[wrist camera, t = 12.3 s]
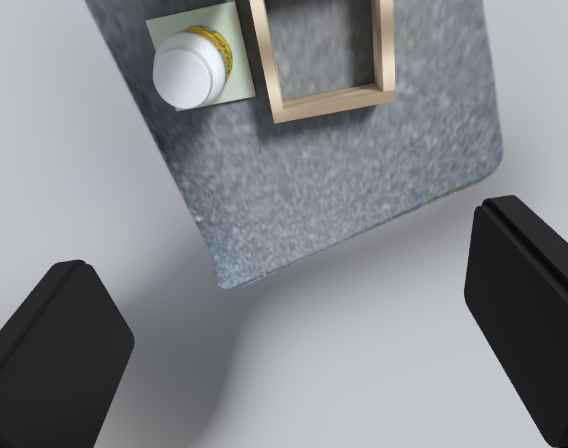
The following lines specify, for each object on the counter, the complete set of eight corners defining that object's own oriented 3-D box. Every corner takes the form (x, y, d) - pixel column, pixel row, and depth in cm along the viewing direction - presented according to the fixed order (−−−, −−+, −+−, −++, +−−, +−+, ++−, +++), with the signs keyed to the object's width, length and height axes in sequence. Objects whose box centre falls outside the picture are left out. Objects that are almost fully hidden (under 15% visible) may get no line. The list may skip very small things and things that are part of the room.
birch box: (246, -31, 30) (242, -33, 27) (380, -62, 29) (391, -67, 26) (274, 112, 37) (274, 123, 34) (385, 91, 36) (395, 101, 33)
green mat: (146, 20, 32) (145, 20, 32) (234, 0, 32) (234, 1, 31) (177, 110, 37) (176, 111, 36) (255, 95, 36) (255, 96, 35)
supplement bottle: (162, 46, 33) (124, 65, 25) (210, 10, 32) (186, 19, 24) (199, 98, 36) (176, 131, 27) (245, 68, 34) (234, 93, 26)
